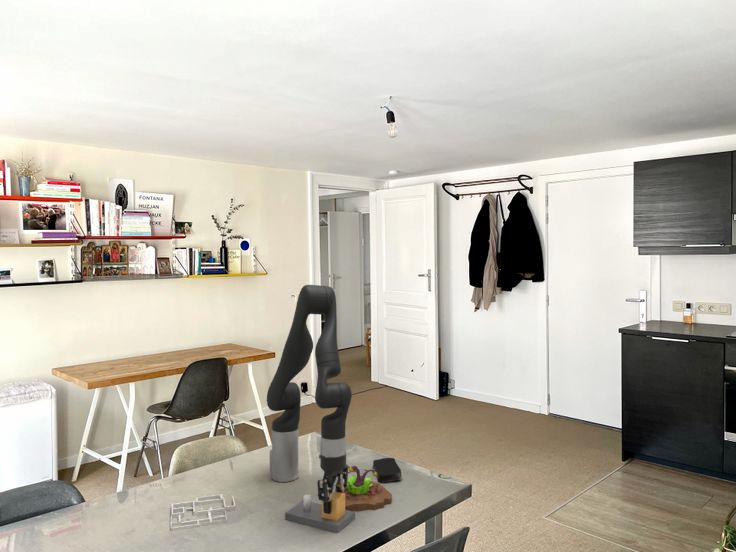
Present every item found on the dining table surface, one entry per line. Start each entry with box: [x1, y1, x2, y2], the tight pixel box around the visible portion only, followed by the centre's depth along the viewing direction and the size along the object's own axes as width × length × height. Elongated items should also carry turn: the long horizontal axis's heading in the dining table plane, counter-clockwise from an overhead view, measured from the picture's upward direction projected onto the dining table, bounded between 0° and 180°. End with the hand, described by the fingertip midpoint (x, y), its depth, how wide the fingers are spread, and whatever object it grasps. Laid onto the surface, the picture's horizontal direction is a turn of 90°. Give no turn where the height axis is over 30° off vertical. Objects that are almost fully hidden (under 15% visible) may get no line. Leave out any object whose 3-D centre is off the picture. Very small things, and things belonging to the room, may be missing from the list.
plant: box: [328, 465, 393, 512], centre depth 181 cm, size 20×20×11 cm
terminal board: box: [284, 494, 356, 534], centre depth 167 cm, size 18×10×6 cm, turn 63°
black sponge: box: [372, 457, 402, 483], centre depth 202 cm, size 16×8×4 cm, turn 8°
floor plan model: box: [170, 493, 236, 532], centre depth 174 cm, size 19×25×2 cm
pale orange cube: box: [321, 491, 345, 521], centre depth 165 cm, size 5×5×6 cm
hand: (333, 508), depth 165 cm, fingers open, 6 cm apart
